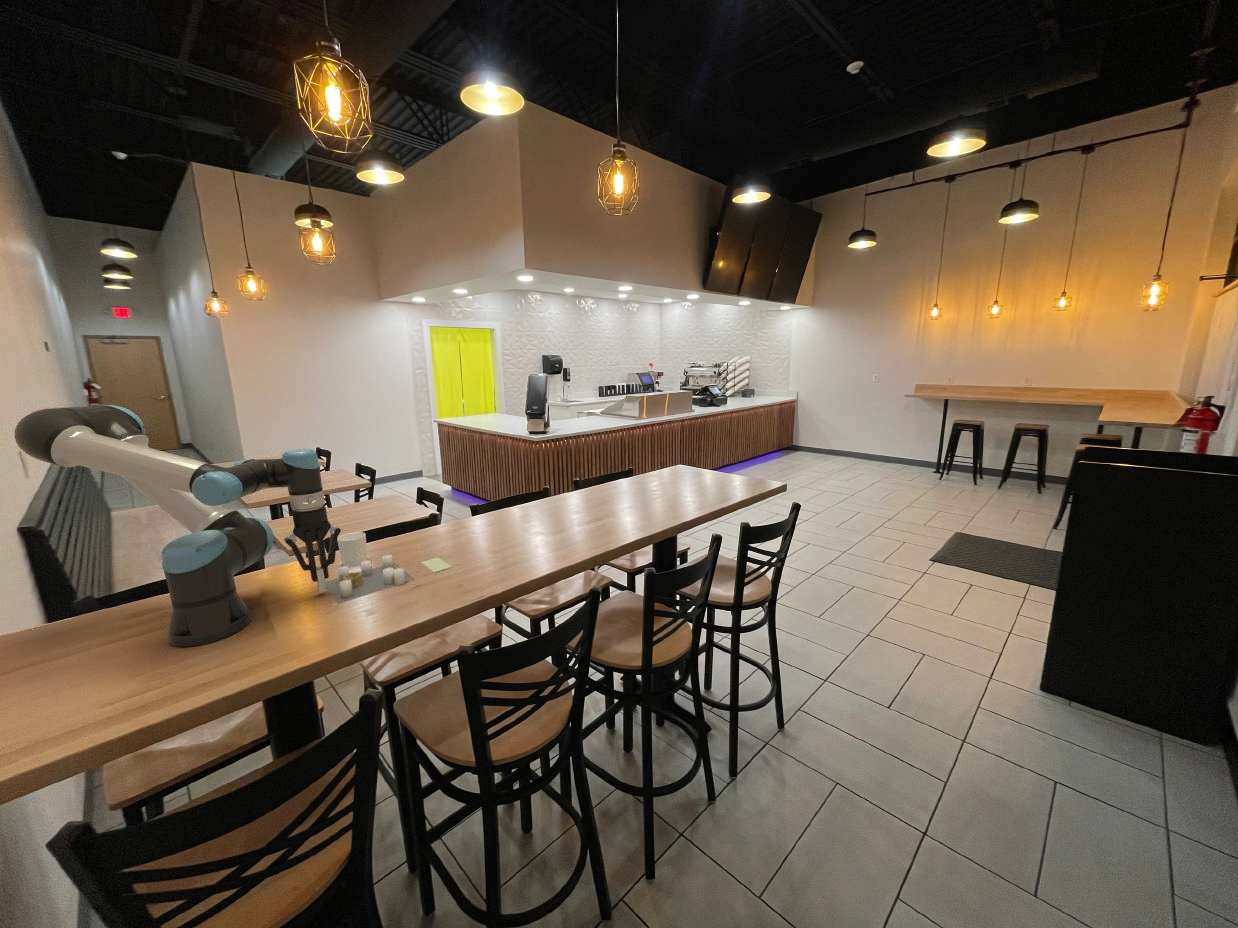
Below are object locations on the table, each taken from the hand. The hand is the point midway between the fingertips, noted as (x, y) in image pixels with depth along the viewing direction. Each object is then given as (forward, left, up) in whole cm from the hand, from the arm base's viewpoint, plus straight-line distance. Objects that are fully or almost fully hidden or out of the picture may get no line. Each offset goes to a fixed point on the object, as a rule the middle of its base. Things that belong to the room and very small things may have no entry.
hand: (322, 590), depth 128 cm
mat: (+28, 0, -2) cm, 28 cm away
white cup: (+13, +19, -3) cm, 23 cm away
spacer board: (+12, 0, -2) cm, 12 cm away
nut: (+8, 0, -1) cm, 8 cm away
